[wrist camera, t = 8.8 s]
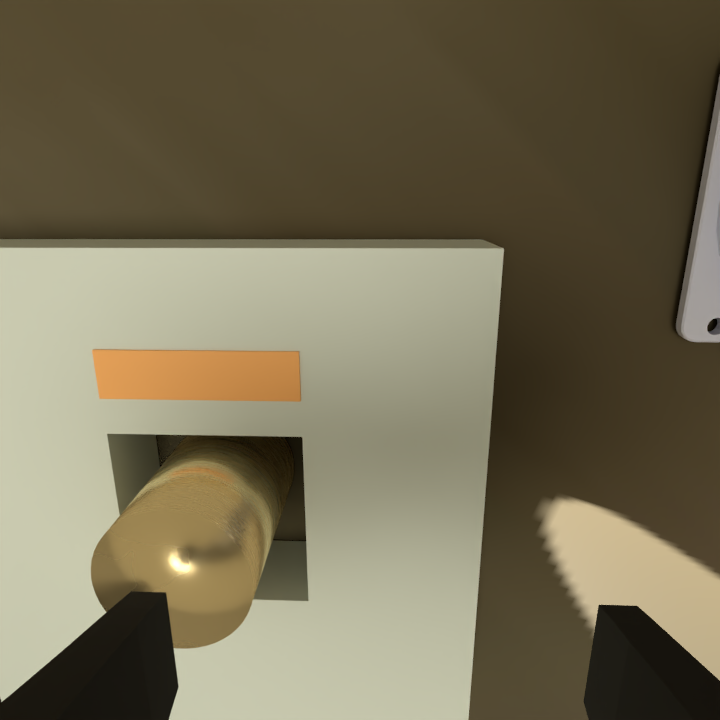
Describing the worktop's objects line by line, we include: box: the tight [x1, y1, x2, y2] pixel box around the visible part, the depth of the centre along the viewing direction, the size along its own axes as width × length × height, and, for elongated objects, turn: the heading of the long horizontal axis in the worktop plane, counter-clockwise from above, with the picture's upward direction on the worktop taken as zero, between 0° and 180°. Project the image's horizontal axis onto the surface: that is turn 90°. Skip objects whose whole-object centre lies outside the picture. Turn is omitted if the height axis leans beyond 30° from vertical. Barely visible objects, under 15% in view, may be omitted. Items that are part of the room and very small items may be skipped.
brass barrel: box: [91, 435, 294, 649], centre depth 16 cm, size 4×4×6 cm
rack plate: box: [0, 239, 504, 720], centre depth 17 cm, size 16×16×3 cm
